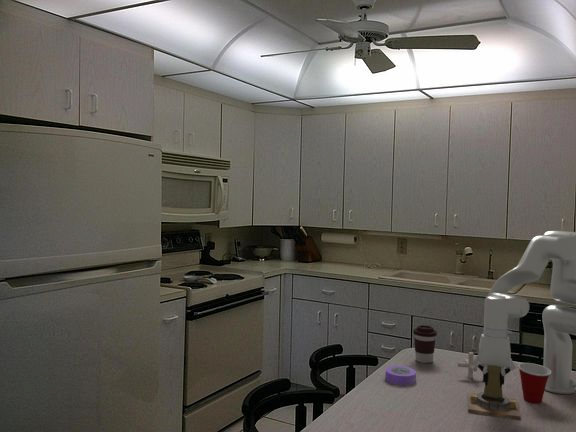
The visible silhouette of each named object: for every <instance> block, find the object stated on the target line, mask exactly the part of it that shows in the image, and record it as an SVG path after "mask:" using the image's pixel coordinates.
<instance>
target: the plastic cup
mask: <svg viewBox="0 0 576 432" xmlns="http://www.w3.org/2000/svg"><path fill="white" fill-rule="evenodd" d="M517 368H518V370H519V377H520V384H521V390H522V396H523V400H524V402H527V403H531V404H536V405H538V404H541V403H542V401H543V398H544V394H545V391H546V390H545V387H546V383H547V380H548V377H549V375H551V371H550V370H549V369H548V368H546V367H544V366H543V365H540V364H536V363H534V362H533V363H532V362H521V363H518V364H517Z"/></svg>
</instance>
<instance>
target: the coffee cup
mask: <svg viewBox="0 0 576 432" xmlns="http://www.w3.org/2000/svg"><path fill="white" fill-rule="evenodd" d="M437 334H438V332H437V330H435V328H434V327H433V326H430V325H425V324H424V325H423V324H422V325H418V326H416V327H415V328H413V335H414V337H413V338H414V339H413V340H414V351H415V352H414V353H415V360H416V361H417V362H419V363H422V364H430V363H432V362H433V361H434V353H435V347H436V337H437Z"/></svg>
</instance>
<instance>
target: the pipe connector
mask: <svg viewBox="0 0 576 432" xmlns="http://www.w3.org/2000/svg"><path fill="white" fill-rule="evenodd" d="M473 360H474V352H473V351H471V352H470V351H469V352H468V358H465V359H464V361H463V362H457V367H458V368H467V378H468V379H473V377H474V374H473V373H476V372H477V371H478V367H477V366H476V365H474V364H473ZM481 365H482V364H481ZM482 366H483V365H482Z"/></svg>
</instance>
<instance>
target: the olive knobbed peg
mask: <svg viewBox="0 0 576 432" xmlns="http://www.w3.org/2000/svg"><path fill="white" fill-rule="evenodd" d="M500 373H501V367H499V366H495V365H490V366H488V367H487V374H488V382H487V386H485V385H484V389H483V392H484V394H485V395H487V396H489V397H494V398H500V397H502V396H503V387H502V388H501V387H500Z"/></svg>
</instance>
